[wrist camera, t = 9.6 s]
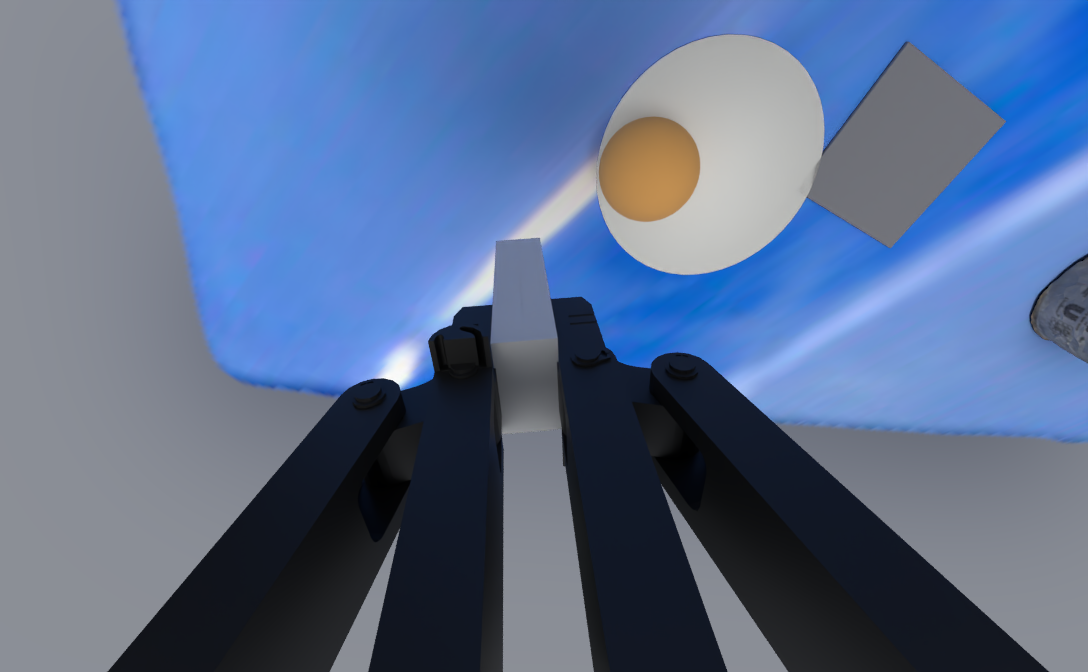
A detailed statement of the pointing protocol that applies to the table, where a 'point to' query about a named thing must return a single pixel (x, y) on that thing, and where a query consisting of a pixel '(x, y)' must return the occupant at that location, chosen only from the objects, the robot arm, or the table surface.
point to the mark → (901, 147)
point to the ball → (649, 169)
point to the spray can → (1065, 311)
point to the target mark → (725, 150)
